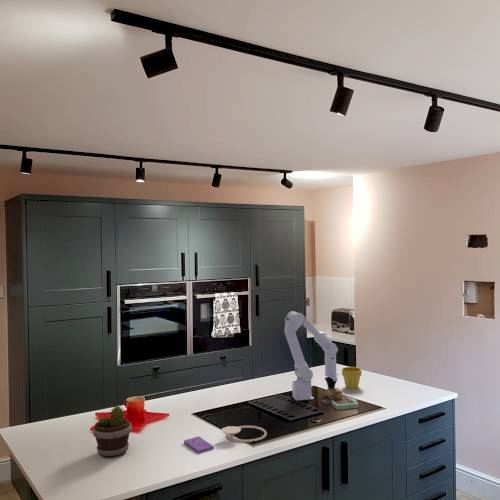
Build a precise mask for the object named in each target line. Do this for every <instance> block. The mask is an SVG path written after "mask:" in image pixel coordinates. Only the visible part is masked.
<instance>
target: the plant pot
mask: <svg viewBox="0 0 500 500" xmlns="http://www.w3.org/2000/svg"><path fill="white" fill-rule="evenodd" d="M341 375H342V377H343V381H344V385H345V388H347V389H351V390H352V389H358V388H359V384H360V379H361V377H362V369H361V368H360V367H356V366H345V367H343V368H341Z"/></svg>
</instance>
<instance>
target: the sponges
mask: <svg viewBox="0 0 500 500" xmlns="http://www.w3.org/2000/svg"><path fill="white" fill-rule="evenodd" d="M183 444H184V445H186V446H187V447H189V448H190V449H191V450H192V451H194V452H196V453H197V454H202V453H206V452H208V451H212V450H214V449H215V447H214V446H215V445H213V444H211V443H210V442H208V441H206V440H205V439H204V438H202V437H201V436H200V435H198V436H194V437H192V438H188V439H183Z"/></svg>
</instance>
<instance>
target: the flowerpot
mask: <svg viewBox="0 0 500 500" xmlns="http://www.w3.org/2000/svg"><path fill="white" fill-rule="evenodd" d="M108 413H109V415H106V414H104V415H103V414H102V417H100V418H99V419H98V421H97V422H95V424H94V426H93V428H92V436H93V437H94V438H95V440H96V443H97V446H96V451H97V453H98V455H100V457H102V458H103V457H104V459H107V458H108V459H113V458H119V457H121V456H124V455H125V454H126V453H127V451H128V450H129V446H130V443H129V438H130V433H131V432H132V431H133V426H132V423H131V422H130V421H129V419H127V418H126V417H125V414H126V412H125V410H124V409H123V407H122V406H121V405H120V404H119V403H117V404H116V405H114V406H113V408H111V410H110V412H108Z"/></svg>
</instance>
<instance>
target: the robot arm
mask: <svg viewBox="0 0 500 500" xmlns="http://www.w3.org/2000/svg"><path fill="white" fill-rule="evenodd" d="M284 320H285V323H284V331H283V332H284V334H285V338H286V341H287V344H288V346H289V349H290V353H291V355H292V358H293V361H294V365H293V366H294V375H295V376H296V380H294V381H292V383H291V387H292V389H291V390H292V395H291V396H292V397H293V399H294V400H295V401H306V400H307V401H308V400H309V401H310V400H315V397H313V396H312V379H313V377H314V373H313V371H312V370H311V369H310V367H309V365H308V363H307V362H306V359H305V357H304V354H303V351H302V348H301V345H300V342H299V340H298V339H299V338H298V337H297V334H296V332H297V331H298V329H300V327H304V328H305V329H306V330H308V332H309V333H310V334H311V335H312V336H313V340H314V341H315V343H317V344H318V346H320V347H321V348H322V351H324V376H325V377H324V379H325V382H326V385H327V388H336V387H335V386H336V383H337V382H338V376H339V372H337V353H338V351H339V348H338V346H337V344H336V343H333V341H332V339H331V338H329V337H328V335H327V334H326V332H323V331H319V330H318V329H317V328H316V327H315V326H314V325H313V324H312V322H311V321H310V320H309V319H308V318H307V317H306V316H304V315H303V313H300V312H296V311H294V310H292V311H289V312H288V313H287V315H286V316H285V318H284Z"/></svg>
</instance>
